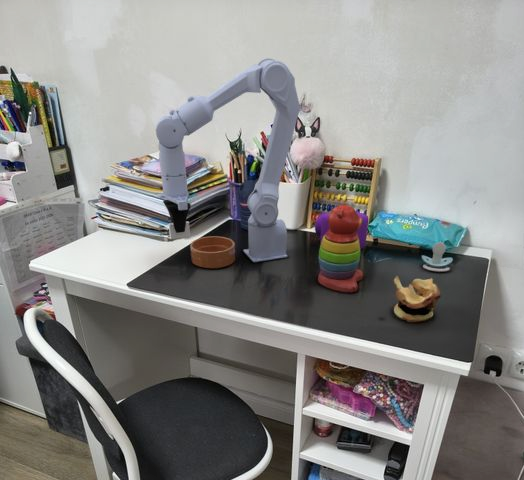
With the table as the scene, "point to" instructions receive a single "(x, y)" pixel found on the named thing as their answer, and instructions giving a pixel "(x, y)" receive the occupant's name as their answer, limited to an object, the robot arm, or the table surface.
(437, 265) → the pacifier
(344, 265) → the stacking bear
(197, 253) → the bowl
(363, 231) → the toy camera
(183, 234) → the eraser
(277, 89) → the robot arm
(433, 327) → the table surface
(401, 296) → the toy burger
